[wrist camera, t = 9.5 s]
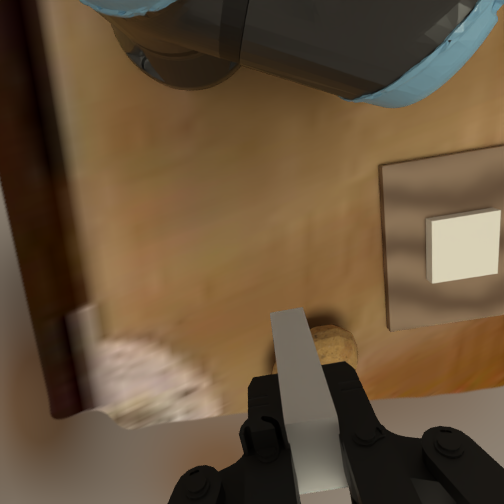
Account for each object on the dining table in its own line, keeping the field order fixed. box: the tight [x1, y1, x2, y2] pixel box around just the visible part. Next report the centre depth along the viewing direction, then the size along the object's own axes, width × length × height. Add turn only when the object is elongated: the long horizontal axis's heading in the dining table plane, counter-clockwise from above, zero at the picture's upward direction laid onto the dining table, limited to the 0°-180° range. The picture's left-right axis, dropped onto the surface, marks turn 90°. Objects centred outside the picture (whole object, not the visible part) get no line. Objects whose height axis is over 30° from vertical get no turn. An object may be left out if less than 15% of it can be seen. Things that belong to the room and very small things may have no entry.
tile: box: [426, 208, 501, 284], centre depth 44 cm, size 8×2×8 cm
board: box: [379, 145, 504, 332], centre depth 45 cm, size 22×16×1 cm
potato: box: [272, 324, 358, 374], centre depth 47 cm, size 10×14×8 cm
